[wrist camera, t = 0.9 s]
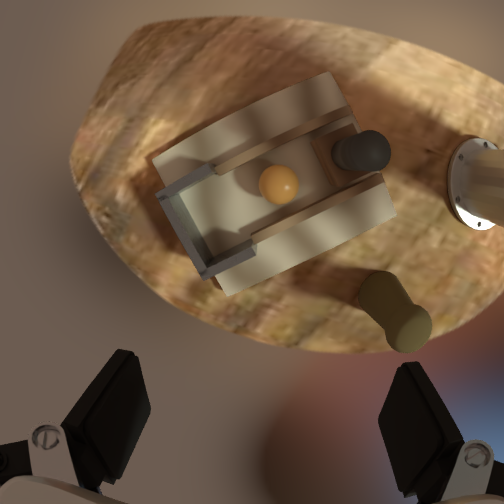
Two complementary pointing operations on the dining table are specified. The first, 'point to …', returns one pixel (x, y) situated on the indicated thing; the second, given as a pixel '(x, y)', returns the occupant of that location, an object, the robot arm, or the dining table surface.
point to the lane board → (248, 174)
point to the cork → (395, 312)
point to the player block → (351, 154)
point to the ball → (278, 184)
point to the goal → (190, 232)
